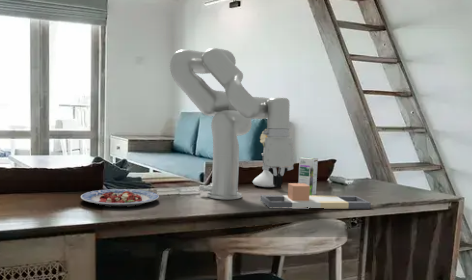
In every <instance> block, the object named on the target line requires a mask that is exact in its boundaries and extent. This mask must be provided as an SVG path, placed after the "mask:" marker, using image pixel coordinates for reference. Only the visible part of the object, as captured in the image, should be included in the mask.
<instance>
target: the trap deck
mask: <svg viewBox="0 0 472 280" xmlns="http://www.w3.org/2000/svg"><path fill="white" fill-rule="evenodd" d="M261 201H262V202H263V203H262V202H261ZM260 202H261V203H262V204H264V203H265V204H266V205H267V206H268V207H308V208H307V209H309V208H310V207H311V208H324V209H325V210H326V209H328V210H329V209H331V210H332V209H335V210H336V209H339V210H341V209H342V210H343V209H350V210H351V209H355V210H356V209H357V210H358V209H362V210H363V209H364V210H365V209H371V203H372V202H370V201H368V200H366V199H364V198H362V197H359V196H357V195H316V194H315V195H309V201H292V200H291V199H289V198H288V194H285V195H283V194H281V195H280V194H279V195H276V194H273V195H272V194H260ZM265 204H264V205H265ZM266 205H265V206H266ZM267 206H266V207H267ZM268 207H267V208H268Z"/></svg>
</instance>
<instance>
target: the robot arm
mask: <svg viewBox="0 0 472 280" xmlns="http://www.w3.org/2000/svg"><path fill="white" fill-rule="evenodd" d="M169 63H170V64H169V67H170V68H169V69H170V75H171V77H172V79H173V81H174V82H175V83H176V85H177V86H178V87H179V88H180V90H182V91H183V93H185V95H186V96H187V97H188V99H189V100H190V101H191V102H192V103H193V104H194V106H195V107H196V108H197V109H198V110H199V111H200V113H202V114H203V115H204V116H208V117H212V119H211V125H210V126H211V133H212V144H213V145H212V170H211V171H212V175H211V177H212V178H211V182H210V183H209V184H207V185H199V186H198V191H200V192H207V193H206V194H207V195H206V197H208V198H210V199H214V200H228V201H229V200H238V199H241V198H242V197H243V195H242V194H243V193H241V192H239V190H238V189H239V168H240V166H239V165H240V144H239V140H238V137H239V136H243V135H246V134H248V133H249V132H250V130H251V129H252V120H257V119H258V120H259V119H260V120H261V119H262V120H263V119H267V120H266V121H267V123H266V126H267V127H266V129H267V130H265V129H264V130H263V131H262V132H263V133H262V134H265V135H267V138H265V142H264V146H263V152H262V153H263V155H262V170H263V171H264V170H266V171H270V172H271V173H272V175H273V185H274V186H275V187H274V188H281V187H282V185H283V181H284V179H283V178H284V177H283V176H284V174H285V175H286V172H288V171H291V170H294V163H295V159H294V157H295V155H294V146H293V138H292V137H290V106H291V105H290V100H289V99H288V98H287V97H270V98H269V97H259V96H252V94H250V93H249V92H248V90H247V89H246V88H245V87H244V86H243V84H242V80H243V79H244V74H243V73H244V72H242V71H241V70H240V69H239V68H238V67H237V66H236V56H235V55H234V53H232V52H231V51H230V50H227V49H223V48H219V47H211V48H208V49H206V50H205V51H199V50H191V49H179V50H177V51H175V52H174V53H173V54H172V55H171V58H170V62H169ZM198 74H202V75H203V74H210V75H212V76H213V78H214V79H215V80H216V81H217V82H218V83H219V84H220V85H221V87H223V89H224V91H223V90H216V89H213V88H212V87H211V86H209V84H207V82H206V81H205V80H204V78H202V77H200V76H199V75H198ZM277 168H278V170H277Z"/></svg>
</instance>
